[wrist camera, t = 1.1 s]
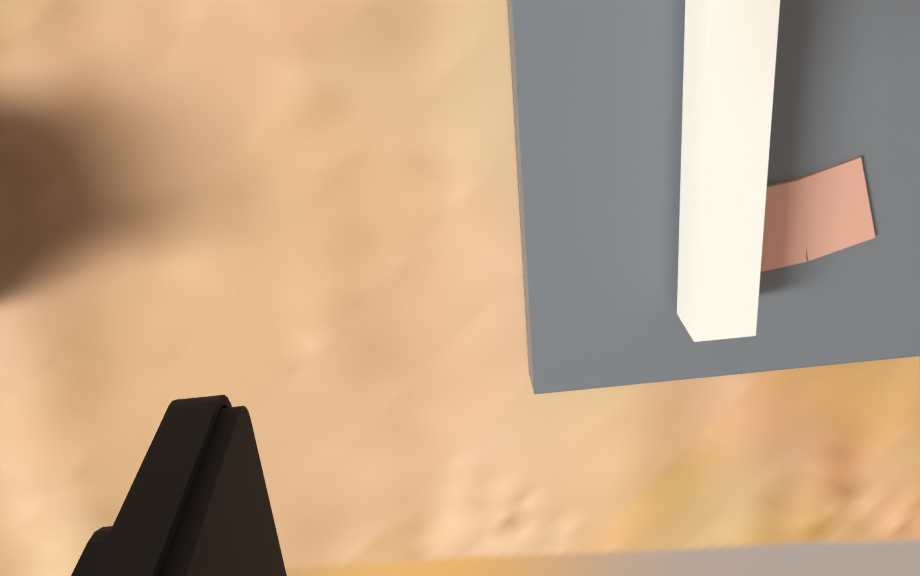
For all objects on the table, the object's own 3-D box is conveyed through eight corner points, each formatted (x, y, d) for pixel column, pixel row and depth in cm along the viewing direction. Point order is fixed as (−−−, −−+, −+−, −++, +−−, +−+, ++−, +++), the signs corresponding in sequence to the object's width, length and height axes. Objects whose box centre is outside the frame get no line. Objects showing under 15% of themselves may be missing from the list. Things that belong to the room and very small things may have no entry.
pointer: (655, -413, 21) (683, -447, 19) (819, -428, 21) (866, -464, 19) (647, 316, 29) (666, 351, 27) (763, 305, 30) (791, 338, 27)
